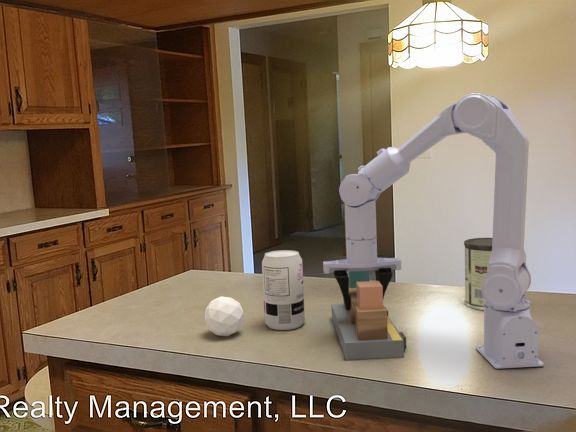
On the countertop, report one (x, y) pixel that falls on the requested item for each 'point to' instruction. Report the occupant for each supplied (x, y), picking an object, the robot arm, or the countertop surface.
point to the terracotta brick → (369, 295)
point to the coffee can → (476, 270)
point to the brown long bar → (367, 320)
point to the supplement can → (283, 290)
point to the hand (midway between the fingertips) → (363, 308)
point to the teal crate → (357, 277)
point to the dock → (366, 348)
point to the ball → (224, 316)
